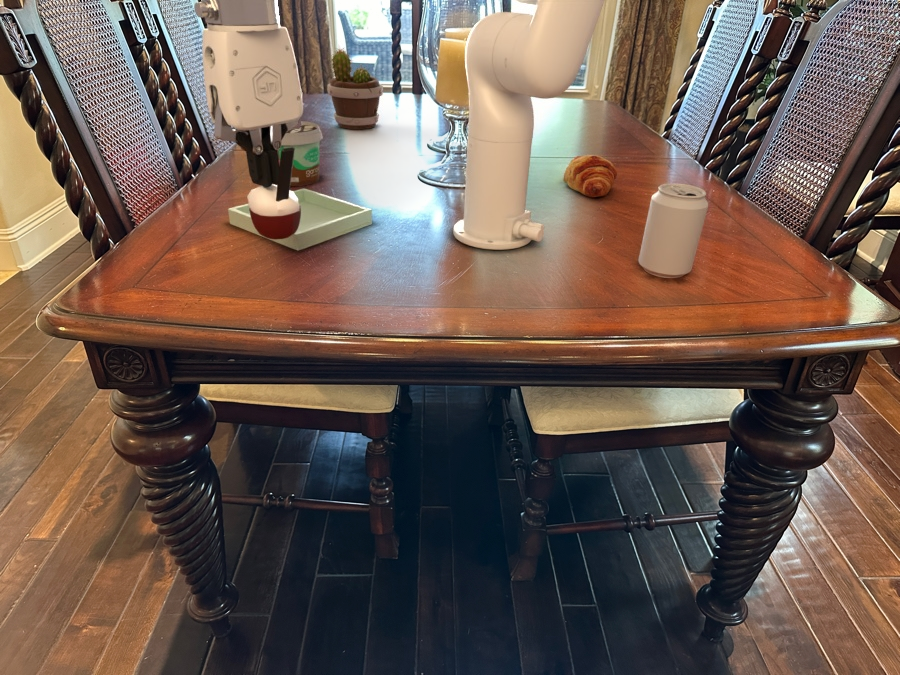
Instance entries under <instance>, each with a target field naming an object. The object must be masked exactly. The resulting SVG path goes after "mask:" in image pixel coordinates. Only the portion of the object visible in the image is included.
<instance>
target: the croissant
mask: <svg viewBox="0 0 900 675" xmlns="http://www.w3.org/2000/svg"><path fill="white" fill-rule="evenodd" d="M617 176H618V171H617V169H616V167H615V166H614V164H613V163H612V162H611V161H610V160H608V159H606V158H604V157H602V156H600V155H594V154H587V155H577V156H575V157H574V158H572V159H571V160H570V162H569V164H568V165H567V166H566V168H565V170H564V173H563V178H562V179H563V180H562V181H563V182H564V183H566V184H567V185H568V187H569V188H570V189H571V190H574V191H576V192H579V193H581V194H582V195H584V196H586V197H590V198H596V197H597V198H599V197H604V196H606V195H607V194H608V193H609V192H610V191H611V189H612V188H613V185H614V183H615V180H616V178H617Z"/></svg>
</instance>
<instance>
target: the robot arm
mask: <svg viewBox="0 0 900 675" xmlns="http://www.w3.org/2000/svg"><path fill="white" fill-rule="evenodd" d="M512 2H515V3H518V4H521V5H526V6H532V7H533V6H534V7H535V9H534V13H533V14H530V13H522V12H512V11H500V12H494V13H490V14H488V15H486V16H484V17H483V18H481V19H480V20H478V21H477V22H476V23H475V24H474V26H473V27H472V29H471V30H470V32H469V35H468V37H467V40H466V45H465V49H464V50H465V52H464V61H465V62H464V63H465V73H466V81H467V89H468V91H467V92H468V127H467V128H468V129H467V144H466V163H465V165H466V166H465V186H464V187H465V188H464V205H463V206H464V207H463V219H460V220H458V221H457V222H456V223H455V224H454V225H453V229H452V230H453V231H452V232H453V234H452V235H453V236H454V238H455V239H456V240H458V242H460V243H462V244H464V245H467V246H470V247H473V248H477V249H482V250H493V251H494V250H495V251H503V250H513V249H519V248H521V247H524V246H526V245H528V244H529V243H530V242H531V241H535V242H537V243H538V242H541V241H542V240H543V238H544V235H545V234H544V233H545V232H544V231H545V225H544V224H542V223H538V222H534V221H532V220H531V215H532V211H531V210H527V209H526V203H527V195H528V184H529V176H530V165H531V156H532V155H531V154H532V145H533V137H534V128H535V115H534V106H533V101H532V97H533V98H537V99H544V100H545V99H554V98H556V97H558V96H561V95H562V94H564V93H565V92H566V91H567V90H568V88H570V87H571V85H572V84H573V83H574V81H575V80H576V78H577V76H578V74H579V72H580V70H581V68H582V65H583V63H584V60H585V57H586V54H587V51H588V49H589V46H590V43H591V40H592V37H593V35H594V32H595V29H596V26H597V23H598V20H599V18H600V14H601V12H602V9H603V6H604V3H605V0H512ZM193 6H194V7H193V9H194V13H195V15H196V17H198V18H204V21H205V23H206V27H207V28H203V29H202V50H201V51H202V67H203V68H202V70H203V79H204V89H205V95H206V96H205V97H206V102H207V107H208V112H209V115H210V119H211V121H212V122H213V123H214V131H213V132H214V135H213V136H214V138H215V139H217V140H221V141H224V142H233V143H235V144H236V145H237V146H238V147H239V148H240V150H242V151H244V152H245V155H246V160H247V169H248V173H249V178H250V180H251V182H252V184H254V185H258V186H264V187H270V186H271V185H278V176H279V166H280V158H279V151H278V150H279V149H280V148H281V146H282V142H281V141H282V139H283V137H284V135H285V134H286V132H288V131H289V130H290V129H295V127H298V125H299V122H300V120H299V119H300V118H301V117H302V116H303V113H304V103H303V92H302V88H301V82H300V81H301V80H300V75H299V69H298V65H297V60H296V56H295V52H294V47H293V44H292V41H291V38H290V34H289V31H288V29H287V27H286V26H281V24H280V15H279V14H280V13H279V6H278V0H201V1H200V2H195V3H194V5H193ZM232 128H234V129H232Z"/></svg>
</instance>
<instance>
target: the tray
mask: <svg viewBox="0 0 900 675" xmlns="http://www.w3.org/2000/svg"><path fill="white" fill-rule="evenodd" d="M292 191H293V192H294V194H295V195H296V197H297V198H298V203H299V205H300V206H301V218H300V223H299V227H298V230H297V231H296V232H295V233H294V234H293V235H291V236H290V237H288V238H285V239H276V240H275V239H269V238H266V237H264V236H262V235H260V234H259V232H258V231H257V230H256V229H255V227H254V224H253V222H252V219H251V216H250V210H249V208H250V206H249V204H248V203H245V204H241V205H236V206H234V207H230V208H227V213H228V219H229V224H230V225H232V226H235V227H237V228H240V229H242V230H244V231H247V232H249V233H253V234H255V235H257V236H259V237H261V238H262V237H263V238H264V239H267V240H270V241H272V242H275V243H277V244H280V245H282V246H285V247H287V248H290V249H292V250H295V251H297V252H298V251H301V250H304V249H307V248H309V247H313V246H315V245H318V244H321V243H323V242H326V241H330V240H332V239H335V238H337V237H341V236H343V235H346V234H349V233H351V232H354V231H358V230H359V229H363V228H365V227H368V226H370V225H373V210H372V208H368V207H365V206H362V205H359V204H355V203H352V202H349V201H345V200H343V199H340V198H336V197H333V196H330V195H327V194H323V193H321V192H317V191H314V190H311V189H307V188H305V187H304V188H300V189H296V190H292Z"/></svg>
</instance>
